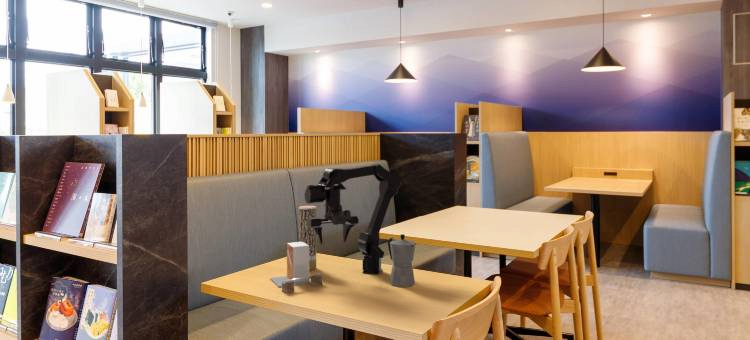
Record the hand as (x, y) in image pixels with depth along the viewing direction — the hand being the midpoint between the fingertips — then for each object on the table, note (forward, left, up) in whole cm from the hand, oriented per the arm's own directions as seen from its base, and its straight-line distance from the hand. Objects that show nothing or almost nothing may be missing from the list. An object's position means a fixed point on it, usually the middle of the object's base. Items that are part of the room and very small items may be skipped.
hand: (332, 243), depth 202 cm
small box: (+11, +7, -13) cm, 18 cm away
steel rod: (+5, +16, -10) cm, 20 cm away
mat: (+13, +9, -13) cm, 21 cm away
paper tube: (+14, -9, -13) cm, 21 cm away
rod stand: (+5, +16, -13) cm, 21 cm away
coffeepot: (-26, 0, -13) cm, 29 cm away
